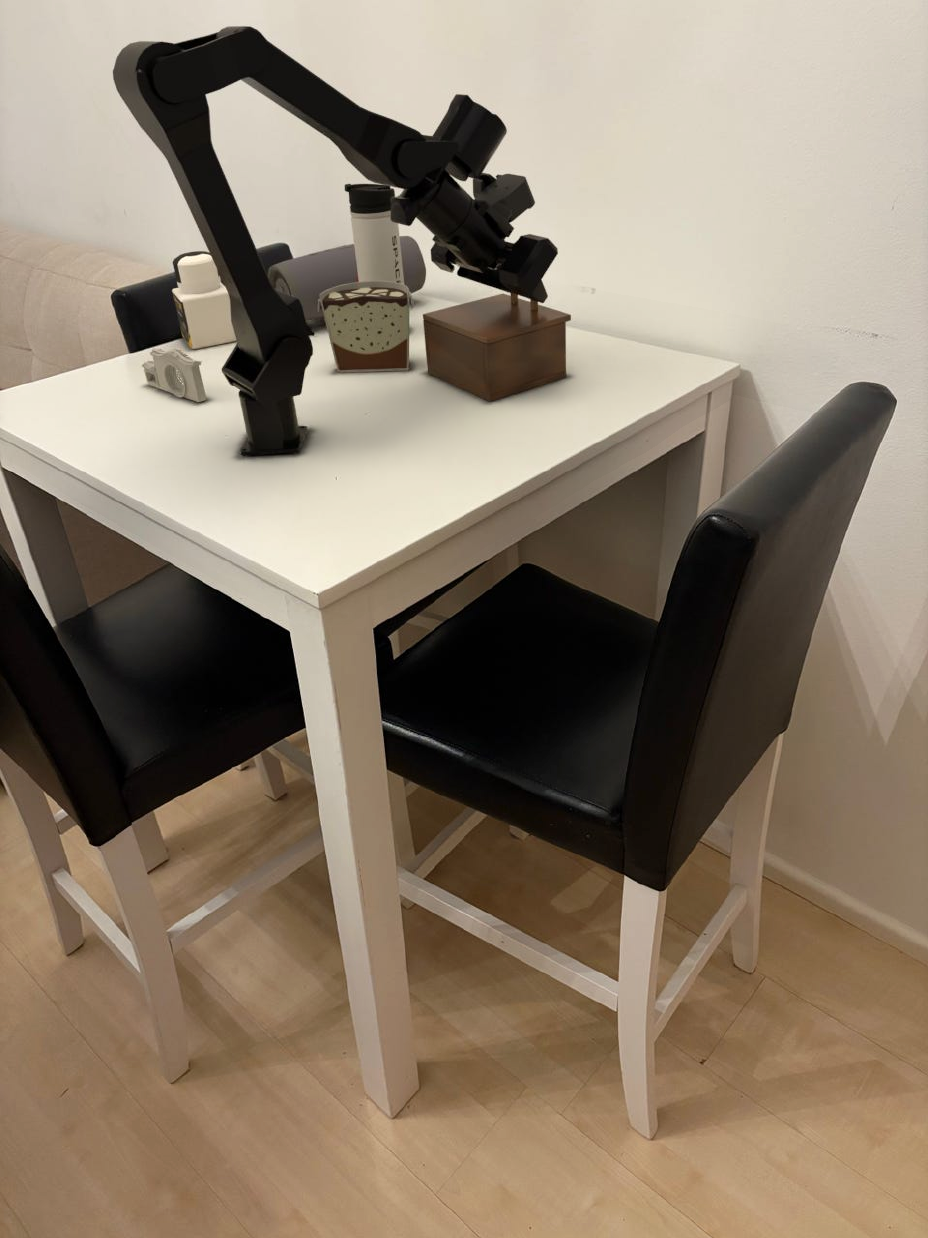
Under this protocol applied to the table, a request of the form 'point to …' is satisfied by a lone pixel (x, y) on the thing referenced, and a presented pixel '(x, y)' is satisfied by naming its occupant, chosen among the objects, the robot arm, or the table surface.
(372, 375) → the table surface
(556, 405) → the table surface
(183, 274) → the medicine bottle
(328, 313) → the food container
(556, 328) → the tea box
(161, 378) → the grey toy camera
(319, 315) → the bluetooth speaker
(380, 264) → the travel mug
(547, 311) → the tea box lid
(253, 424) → the robot arm
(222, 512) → the table surface
